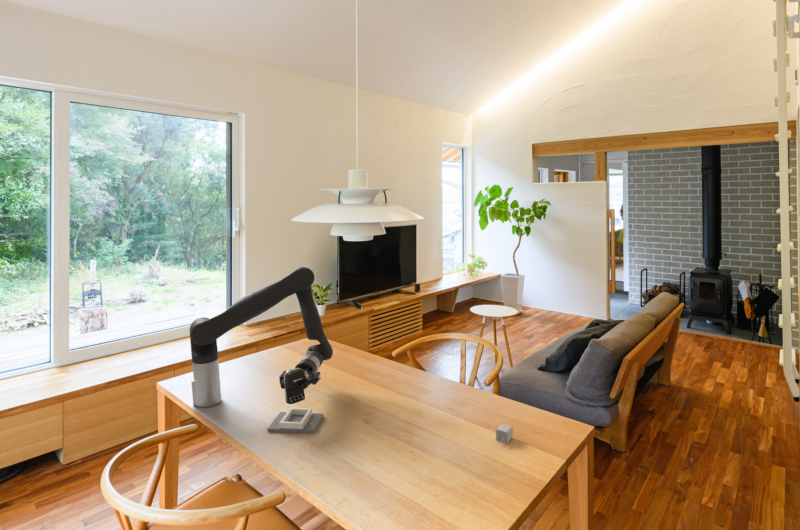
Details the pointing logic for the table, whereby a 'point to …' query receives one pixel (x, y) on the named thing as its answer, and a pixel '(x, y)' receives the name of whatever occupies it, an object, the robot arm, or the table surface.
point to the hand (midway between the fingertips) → (292, 386)
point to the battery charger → (294, 385)
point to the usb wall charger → (504, 433)
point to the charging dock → (296, 421)
